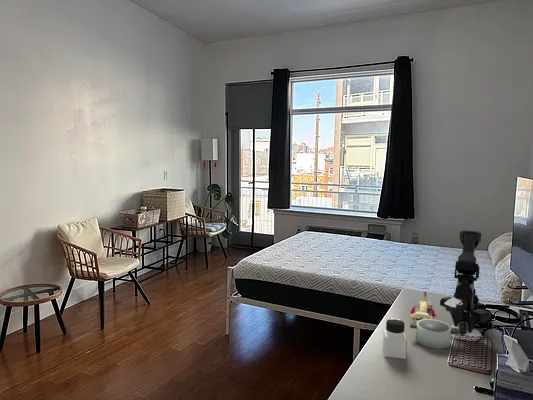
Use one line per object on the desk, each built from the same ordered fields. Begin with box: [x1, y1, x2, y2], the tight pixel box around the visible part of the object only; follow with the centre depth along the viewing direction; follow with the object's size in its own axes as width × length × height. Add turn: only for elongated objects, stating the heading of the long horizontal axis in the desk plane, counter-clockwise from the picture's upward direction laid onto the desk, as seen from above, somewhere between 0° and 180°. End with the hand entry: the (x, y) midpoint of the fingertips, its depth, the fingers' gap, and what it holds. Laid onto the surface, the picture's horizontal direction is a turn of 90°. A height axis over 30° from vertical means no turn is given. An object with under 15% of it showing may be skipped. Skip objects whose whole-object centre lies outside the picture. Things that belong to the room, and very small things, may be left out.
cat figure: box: [409, 291, 436, 323], centre depth 171 cm, size 10×9×25 cm
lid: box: [450, 321, 482, 339], centre depth 155 cm, size 13×13×5 cm
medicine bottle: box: [382, 317, 408, 360], centre depth 139 cm, size 7×7×12 cm
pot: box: [409, 318, 458, 350], centre depth 148 cm, size 12×16×6 cm
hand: (462, 329), depth 155 cm, fingers open, 6 cm apart
